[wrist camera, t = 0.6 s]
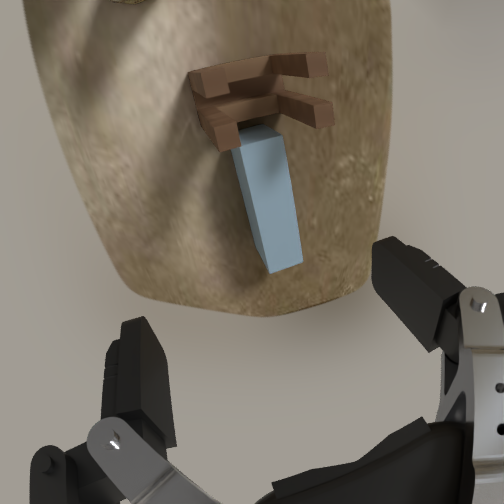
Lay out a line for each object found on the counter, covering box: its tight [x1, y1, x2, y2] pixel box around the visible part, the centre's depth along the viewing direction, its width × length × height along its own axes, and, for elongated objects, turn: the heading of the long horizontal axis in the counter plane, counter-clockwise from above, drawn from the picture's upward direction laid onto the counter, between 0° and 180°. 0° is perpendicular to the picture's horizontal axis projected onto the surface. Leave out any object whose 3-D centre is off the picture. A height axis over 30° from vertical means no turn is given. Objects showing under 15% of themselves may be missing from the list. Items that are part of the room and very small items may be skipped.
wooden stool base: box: [188, 52, 335, 152], centre depth 18 cm, size 4×7×8 cm, turn 101°
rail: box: [231, 124, 303, 274], centre depth 25 cm, size 11×3×4 cm, turn 13°
